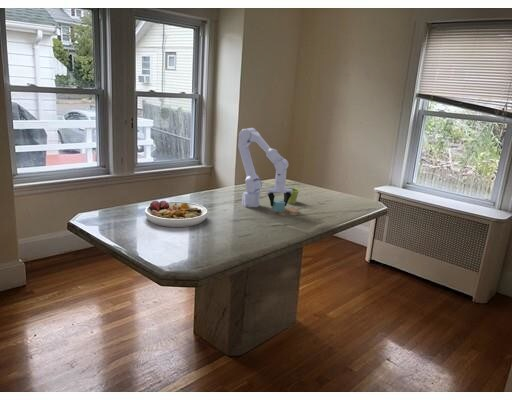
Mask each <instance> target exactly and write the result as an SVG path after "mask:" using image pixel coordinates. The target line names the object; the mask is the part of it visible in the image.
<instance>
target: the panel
mask: <svg viewBox="0 0 512 400" xmlns="http://www.w3.org/2000/svg"><path fill="white" fill-rule="evenodd" d="M268 209H269V210H270V211H271V212H273V213H274V214H275V215H276V216H295V215H297V216H298V215H303V213H302V212H301V211H299V210H297V208H295V207H293V206H292V207H285V211H284V212H275V211H274V210H272V207H270V208H269V207H268Z"/></svg>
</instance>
